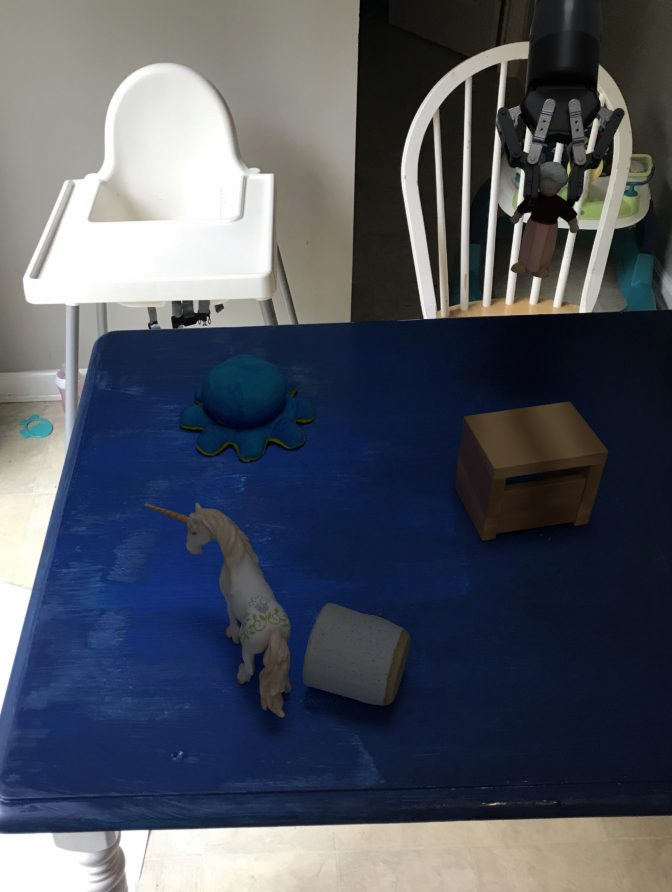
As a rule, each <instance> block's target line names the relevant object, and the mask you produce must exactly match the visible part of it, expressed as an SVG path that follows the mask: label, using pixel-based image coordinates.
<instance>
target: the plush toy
mask: <svg viewBox="0 0 672 892" xmlns="http://www.w3.org/2000/svg"><path fill="white" fill-rule="evenodd" d="M297 391H298V386H297V384H296V382H294V381H293V380H291V379H289V378H287V377H286V375H285V373H284V371H283V370H282V369H281V368H280V367H279V366H277V364H274V363H272V362H269V361H267V360H264V359H261V358H259V357H256V356H255V355H250V354H244V353H241V354H239V355H233V356H231V357H230V358H227V359H225V360H224V361H223V362H221V363H219V364H217V365H216V366H214V367H212V368H211V369H210V370H209V371H208V372H207V374H206V375H205V377H204V379H203V381H202V383H201V387H199V388H198V389H197V390H196V391H195V392H194V395H193V399H194V403H196V404H191V405H187V406H186V407H184V408H183V409H181V411H180V412H179V418H178V419H179V424H180V425H179V426H180V427H181V428H183V429H187V430H188V429H189V430H200V431H201V433H200V434H199V435H198V437H197V438H196V440H195V445H196V449H197V450H198V451H199V452H200V453H201V454H202V455H204V456H207V457H208V456H209V457H212V456H215V455H217V454H219V453H221V451H223V450H224V449H225V448H226V447H227V446H229V445H230V444H231V445H233V448H234V449H235V450H236V454H237V455H238V457H239V459H240V460H242V462H245V463H249V462H250V461H256V460H258V459H260V458H262V457H263V456H264V455H265V452H266V447H267V444H268V443H269V442H274V443H276V444H278V445H281V446H282V447H284V448H285V449H288V450H290V449H295V448H297V447H300V446H302V445H303V444H305V442H306V435H305V434H304V431H303V430H302V428H300V426H299V425H298V423H302V424H306V423H310V422H312V421H314V418H315V415H316V408H315V407H314V405H313V404H311V403H310V402H309V401H307V400H304V399H302V398H300V397H294V396H295V394H296V393H297ZM297 422H298V423H297Z"/></svg>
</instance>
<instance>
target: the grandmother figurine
mask: <svg viewBox="0 0 672 892" xmlns="http://www.w3.org/2000/svg"><path fill="white" fill-rule="evenodd" d="M568 176H569V174H568V173H567V170H566V169H565V167H564V166H563V165H562V164H561V163H560V161H546V162H543V164H541V165H540V176H539V188H538V198H537V202H536V205H535V206H529V201H525V200H524V199H523V200H522V201H521V202H520V203H519V204H518V205H517V206H516V208H515V211H514V212H513V214H512V215H511V216H510V223H511V224H513V225H516V224H518V223H519V222H520V220H521V219H522V218H523V216H524V215H525V214H530V215H529V217H528V219H527V220H526V223H525V227H524V230H523V235H522V239H521V243H520V246H519V251H518V256H517V262H515V263H513V264H512V266H510V271H511V272H512V273H514V274H517V275H518V274H519V275H523V274H526V273H527V272H531V275H532V276H533V277H535V278H538V279H546V278H548V277H549V276H550V267H551V264H552V260H553V256H554V253H555V249H556V245H557V244H556V243H557V239H558V234H559V233H558V232H559V218H560V219H562V220H563V221H565V222H566V223H567V225H568V226H569V233H571V234H577V233H578V232H579V231H580V226H579V224H578V217H577V216H578V212H577V211H576V209H575V208H574V206H573V207H566V201H567V199H565V198H563V197H562V196H561V195H560V194H559V192H560V191H562V190H561V189H563V188H564V187H565V186H568V181H569V179H568ZM558 194H559V195H558Z"/></svg>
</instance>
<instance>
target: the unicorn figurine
mask: <svg viewBox="0 0 672 892" xmlns="http://www.w3.org/2000/svg"><path fill="white" fill-rule="evenodd" d="M194 504H195V505H194V506H195V507H194V508H195V512H190V514H188V516H187V515H186V514H183V513H182V514H181V513H179V512H177V511H176V512H175V511H173V510H169V509H167V508H162V507H160V506H157V505H153V504H151V503H143V505H144V507H147V508H148V509H150V510H153V511H155V512H157V513H159V514H162V516H163V515H164V516H167V517H168V518H170V519H171V518H172V519H173V520H175V521H178V522H180V523H182V524H185V525H187V536H186V544H185V548H186V549H187V551H188V552H189V553H190V554H191V555H193V556H194V555H199V554H203V552H204V548H203V547H204V546H205V545H207V544H209V543H211V542H212V541H213V540H216V542H217V543H218V546H219V547H220V551H221V553H222V556H223V564H222V565H221V568H220V574H219V579H218V583H219V590H220V592H221V593H222V595H223V597H224V600H225V602H226V604H227V606H226V607H227V608H226V610H227V615H228V618H229V625H228V626H227V628H225V631H224V633H225V637H227V639H232V641H233V642H234V644H236V645H239V644H241V656H242V657H241V658H242V660H243V662H241V663H240V664H238V665H239V666H238V672H237V675H236V678H237V683H238V684H240V685H241V684H245V683H246V682H248V683H250V682H251V678H252V676H254V674H255V669H256V664H255V657H256V655H259V654H262V653H264V652H265V653H264V654H263V659H262V664H263V666H264V667H263V668H262V670H261V671H260V672H259V675H258V680H259V694H260V705H261V708H262V710H264V711H267V709H269V710H270V711H271V712H272V713H273V714H275V715H276V716H278V717H279V718H284V717H285V716H286V714H285V713H286V712H284V710H283V706H284V698H283V695H282V693H286V694H287V693H290V692H291V691H292V688H293V687H292V684H291V680H290V677H289V671H290V667H291V652H290V651H291V650H290V649H289V645H288V643H289V640H290V637H291V631H292V626H291V621H290V618H289V616H288V614H287V613H286V612H287V611H286V610H285V609H284V607H282V606H281V604H280V603H278V602H277V598H276V596H275V594H274V591H273V590H272V587H270V585H269V583H268V582H267V580H266V579H265V576H264V573H263V571H262V569H261V566H260V565H259V564H260V558H259V556H258V555H257V553H256V552H255V551H254V548H253V546H252V544H251V540H250V539H249V537H248V536H247V535H246V534H245V532H243V530H241V528H240V527H239V525H237V524H236V523H235V522H234V520H233V519H232V518H231V517H229V516H227V515H225V514H224V513H223V512H222V511H221V510H218V509H216V508H207V507H202V505H200V503H199V502H195V503H194ZM238 621H239V622H240V623H241V625H239V624H238Z"/></svg>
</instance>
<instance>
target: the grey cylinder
mask: <svg viewBox="0 0 672 892" xmlns="http://www.w3.org/2000/svg"><path fill="white" fill-rule="evenodd" d="M410 647H411V635H410V633H409V632H408V631H407V629H405V628H403V627H402V626H399V625H398V624H395V623H393V622H392V621H390V620H388V619H385V618H383V617H380V616H377V615H373V614H368V613H363V612H359V611H357V610H354V609H351V608H348V607H346V606H342V605H339V604H336V603H332V602H327V603H325V605H323V607H322V608H321V610H320V611H319V613H318V615H317V617H316V619H315V622H314V624H313V627H312V629H311V632H310V635H309V638H308V642H307V644H306V650H305V653H304V658H303V666H302V683H303V684H304V685H305V686H307V687H310V688H313V689H317V690H320V691H324V692H327V693H331V694H334V695H338V696H341V697H345V698H348V699H349V698H350V699H353V700H355V701H359V702H362V703H365V704H368V705H373V706H389V705H391V704H392V703H393V702H394V701H395V699H396V696H397V694H398V692H399V688H400V685H401V682H402V678H403V677H404V676H403V675H404V672H405V668H406V665H407V660H408V657H409V651H410Z"/></svg>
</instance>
